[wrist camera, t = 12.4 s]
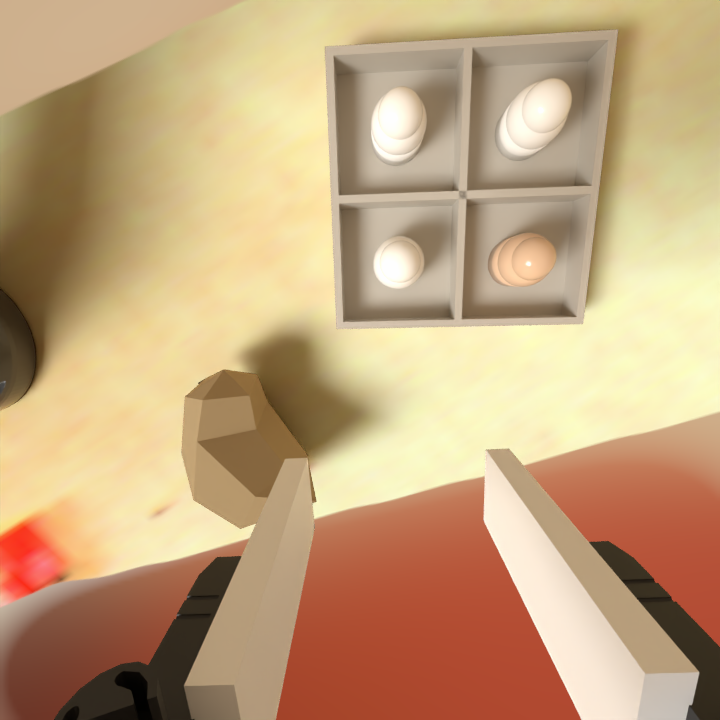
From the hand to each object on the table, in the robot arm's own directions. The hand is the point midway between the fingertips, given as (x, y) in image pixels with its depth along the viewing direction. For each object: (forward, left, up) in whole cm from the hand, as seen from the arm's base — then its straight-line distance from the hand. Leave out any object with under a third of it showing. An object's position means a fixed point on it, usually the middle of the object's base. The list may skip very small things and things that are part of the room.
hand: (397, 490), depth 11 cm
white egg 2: (+1, +8, -22) cm, 23 cm away
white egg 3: (+12, +19, -22) cm, 31 cm away
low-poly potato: (-13, -7, -22) cm, 27 cm away
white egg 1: (+1, +19, -22) cm, 28 cm away
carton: (+6, +14, -22) cm, 27 cm away
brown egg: (+12, +8, -22) cm, 26 cm away
